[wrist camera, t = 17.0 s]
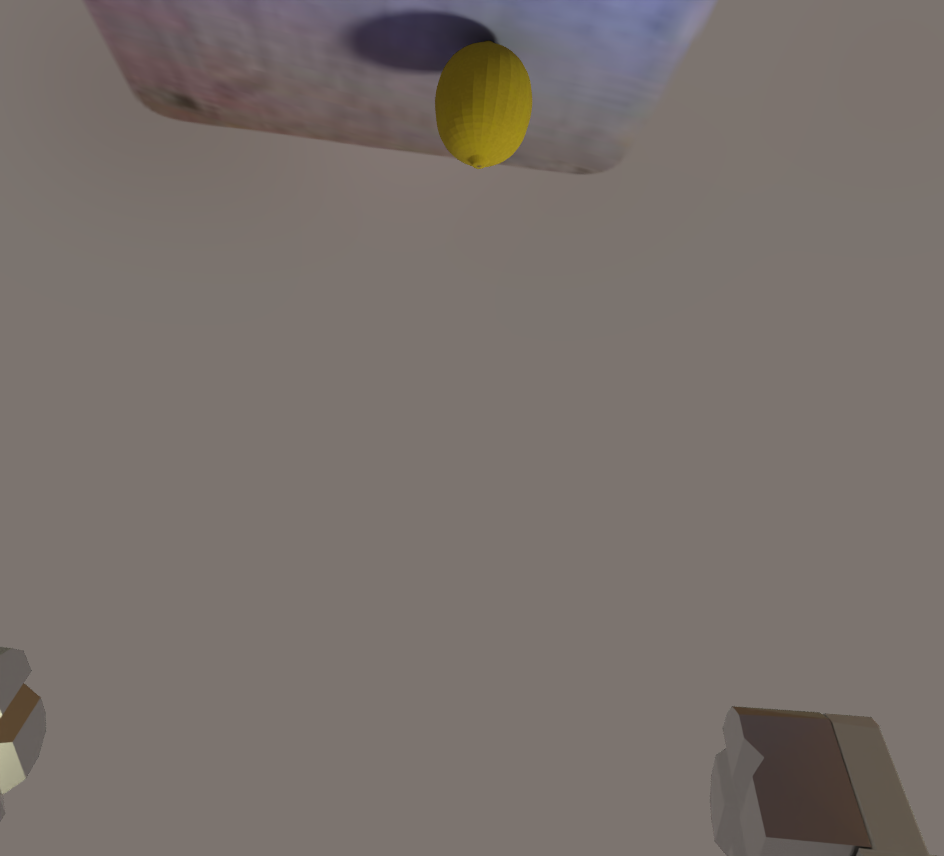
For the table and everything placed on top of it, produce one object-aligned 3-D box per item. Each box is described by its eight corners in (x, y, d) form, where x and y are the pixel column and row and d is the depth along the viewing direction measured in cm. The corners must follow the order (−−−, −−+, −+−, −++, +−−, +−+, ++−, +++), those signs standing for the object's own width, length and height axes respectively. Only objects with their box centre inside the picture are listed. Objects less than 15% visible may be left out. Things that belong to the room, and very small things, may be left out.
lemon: (502, 83, 55) (492, 200, 53) (424, 48, 52) (412, 170, 50) (555, 36, 50) (547, 162, 49) (473, -5, 48) (461, 127, 46)
